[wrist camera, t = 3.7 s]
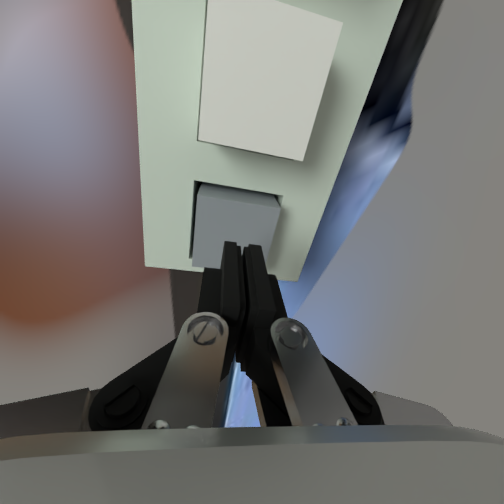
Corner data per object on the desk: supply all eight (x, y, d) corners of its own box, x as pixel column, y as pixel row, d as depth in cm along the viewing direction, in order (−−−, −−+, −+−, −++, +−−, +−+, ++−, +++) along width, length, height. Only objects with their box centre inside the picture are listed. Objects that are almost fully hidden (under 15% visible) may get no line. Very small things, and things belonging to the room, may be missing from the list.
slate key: (203, 178, 16) (197, 195, 13) (270, 190, 17) (280, 208, 14) (198, 239, 19) (191, 266, 15) (257, 246, 20) (263, 274, 16)
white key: (215, 19, 11) (209, -22, 8) (311, 48, 12) (343, 22, 9) (205, 133, 13) (198, 139, 10) (285, 150, 14) (302, 161, 11)
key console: (156, -310, 9) (99, -643, 5) (419, -170, 11) (525, -327, 7) (160, 237, 21) (145, 266, 17) (285, 253, 23) (297, 281, 19)
